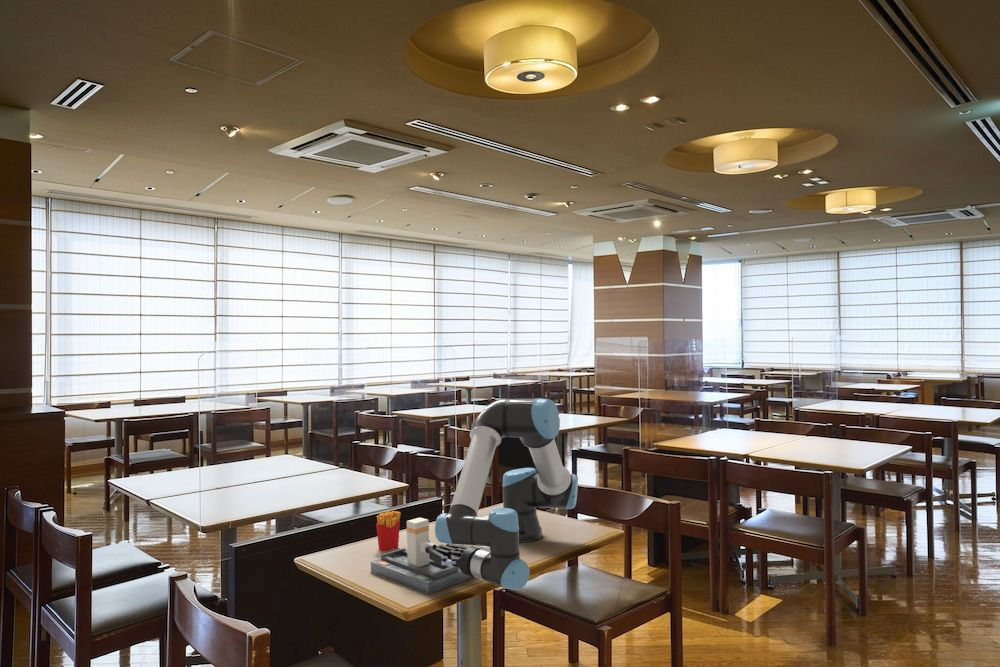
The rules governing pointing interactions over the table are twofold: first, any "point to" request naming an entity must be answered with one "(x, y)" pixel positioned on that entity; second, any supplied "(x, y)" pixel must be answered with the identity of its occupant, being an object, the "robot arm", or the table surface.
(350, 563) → the table surface
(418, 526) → the handle
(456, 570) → the breaker panel
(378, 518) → the french fries
